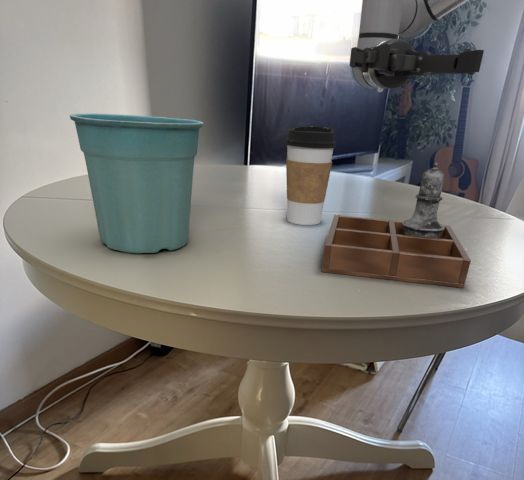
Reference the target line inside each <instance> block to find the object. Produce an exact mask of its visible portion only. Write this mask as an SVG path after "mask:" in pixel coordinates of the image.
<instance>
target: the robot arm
mask: <svg viewBox="0 0 524 480" xmlns="http://www.w3.org/2000/svg"><path fill="white" fill-rule="evenodd" d="M469 1H470V0H362V1H361V12H360V21H359V31H358V38H357V45H356V46H353V47H351V49H350V54H349V55H350V56H349V67H350V70H349V71H350V76H351V78H352V80H353V82H354V83H355V85H357V86H359V87H361V88H363V89H366V90H375V89H376V90H377V92H378V93H382V92H383V91H384V89H387V90H388V89H389V90H392V89H397V88H400V87H402V86H403V85H405V84H406V83H407V82H408V81H409V80H410V79H411V78H413V77H425V76H427V75H430V76H433V75H469V76H470V75H475V74H476V73H480V70H481V65H482V61H483V57H484V52H485V49H475V50H471V48H464V49H463V50H464V51H462V52H459V53H458V54H432V53H431V52H430V51H424V50H423V51H422V50H421V51H420V50H419V51H417V50H415V49H413V46H412V45H411V44H410V43H409V42H408V41H406V40H412V39H413V40H415V39H418V38H421V37H423V36H424V35H425V34H427V32H428V31H429V30H430V28H431V26H433V23H435V22H437V21H438V20H440V19H442V18H443V17H445V16H446V15H448V14H449V13H451V12H453V11H454V10H456V9H457V8H460V7H461V6H462V5H464V4H465V3H467V2H469Z"/></svg>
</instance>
